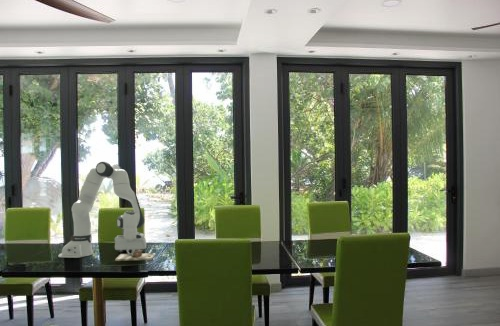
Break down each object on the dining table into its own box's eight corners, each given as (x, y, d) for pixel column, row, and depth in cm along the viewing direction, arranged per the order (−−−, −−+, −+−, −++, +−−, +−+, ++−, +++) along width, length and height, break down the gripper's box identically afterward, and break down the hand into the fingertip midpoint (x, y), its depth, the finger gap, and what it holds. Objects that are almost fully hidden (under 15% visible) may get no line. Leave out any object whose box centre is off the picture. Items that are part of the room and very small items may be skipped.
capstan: (130, 254, 262) (130, 249, 262) (141, 253, 265) (141, 248, 265) (131, 259, 250) (131, 253, 250) (142, 258, 252) (142, 252, 252)
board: (115, 260, 252) (115, 258, 252) (120, 255, 265) (120, 253, 265) (152, 259, 254) (152, 257, 254) (155, 254, 268) (155, 252, 268)
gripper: (113, 236, 250) (113, 257, 250) (145, 235, 252) (145, 256, 252) (115, 234, 256) (115, 255, 256) (146, 234, 258) (146, 254, 258)
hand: (130, 255), depth 254 cm, fingers closed
